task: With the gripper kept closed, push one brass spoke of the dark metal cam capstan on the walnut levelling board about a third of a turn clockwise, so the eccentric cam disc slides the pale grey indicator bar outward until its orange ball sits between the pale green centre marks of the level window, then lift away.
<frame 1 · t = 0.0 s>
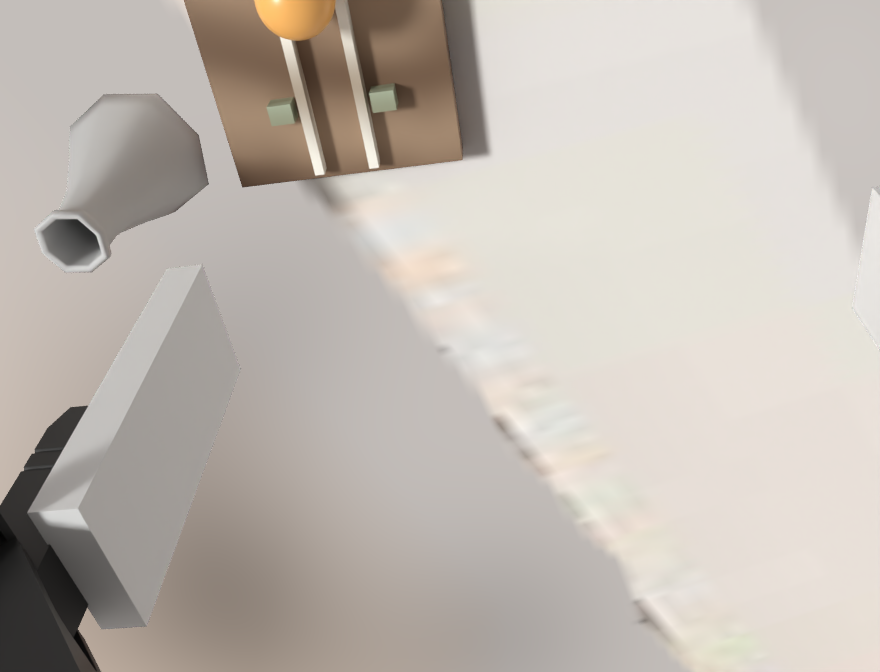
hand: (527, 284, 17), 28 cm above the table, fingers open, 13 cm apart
flask: (143, 152, 46), on the table
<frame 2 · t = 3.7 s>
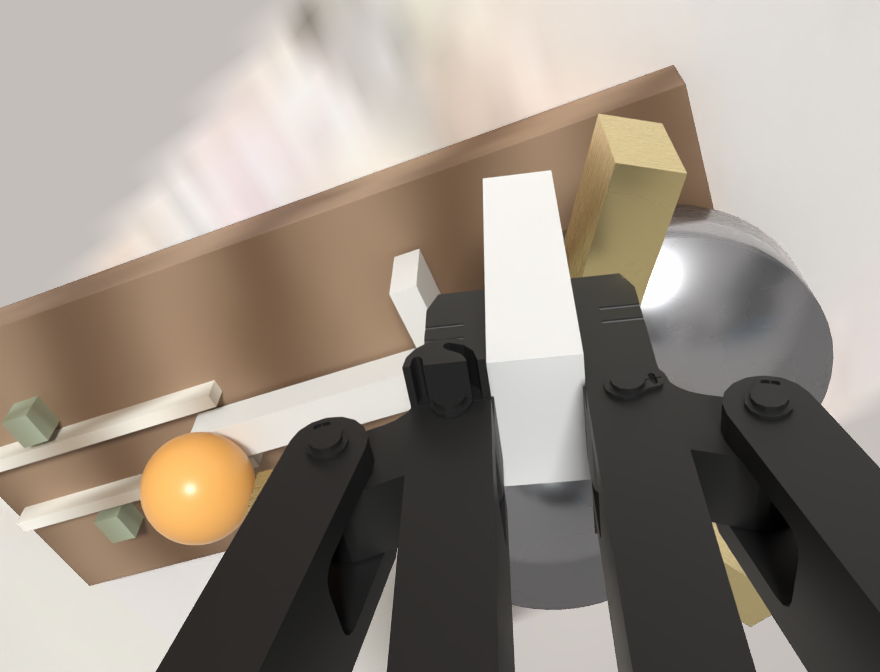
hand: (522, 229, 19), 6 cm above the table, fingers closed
indicator: (304, 445, 26), point 4 cm above the table, slide at 0.0 cm
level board: (324, 365, 29), on the table
cam capstan: (573, 373, 22), point 6 cm above the table, hinge at 150.0°, touching gripper
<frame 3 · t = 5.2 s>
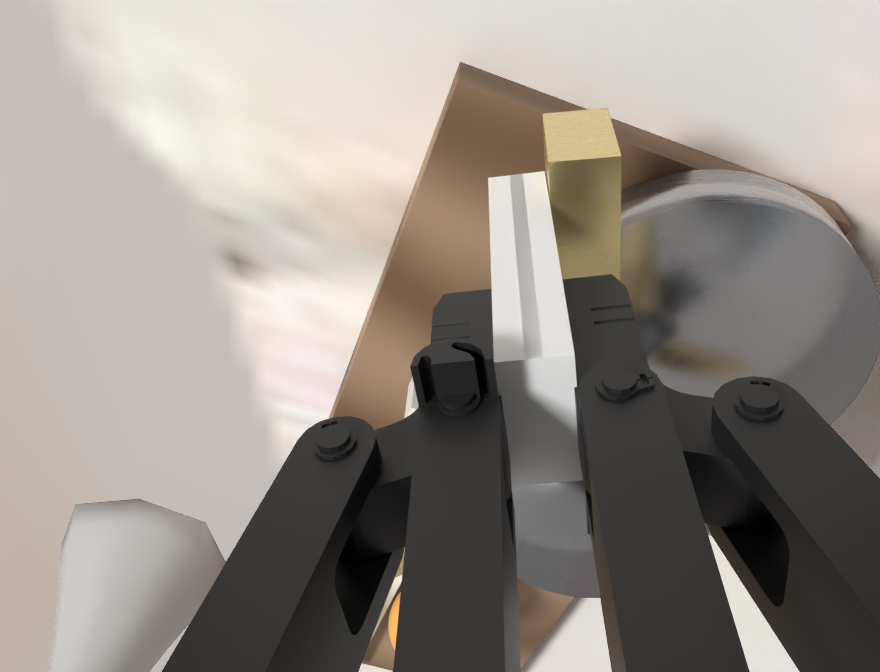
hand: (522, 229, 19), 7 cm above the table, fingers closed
indicator: (470, 552, 29), point 4 cm above the table, slide at 1.3 cm
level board: (485, 447, 32), on the table
cam capstan: (596, 361, 22), point 6 cm above the table, hinge at 116.0°, touching gripper
flask: (148, 545, 37), on the table
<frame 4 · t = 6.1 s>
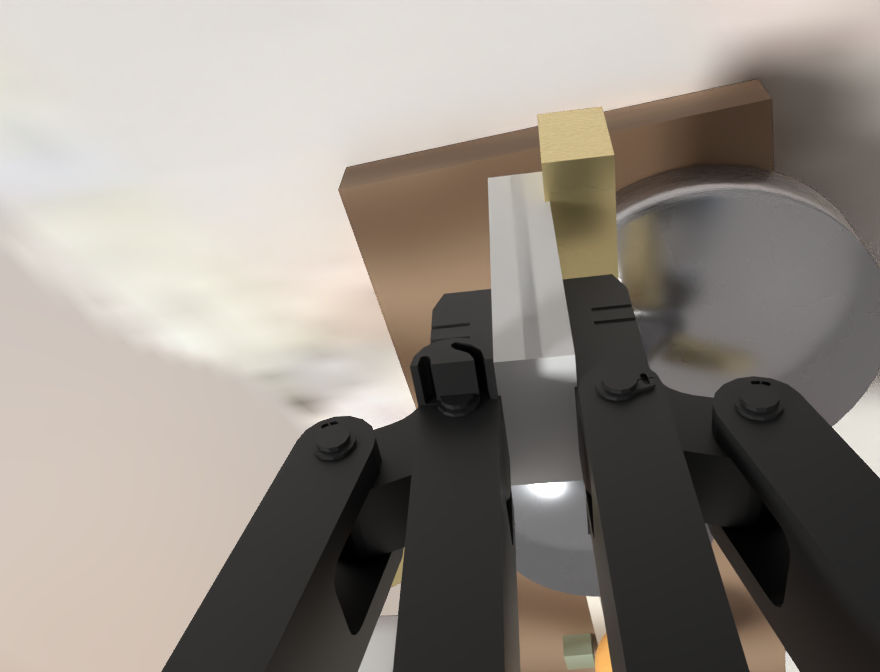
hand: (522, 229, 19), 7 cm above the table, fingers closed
indicator: (627, 595, 30), point 4 cm above the table, slide at 3.2 cm
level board: (605, 455, 32), on the table
cam capstan: (601, 360, 22), point 6 cm above the table, hinge at 84.3°, touching gripper
flask: (399, 649, 41), on the table
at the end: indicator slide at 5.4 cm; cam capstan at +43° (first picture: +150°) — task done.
